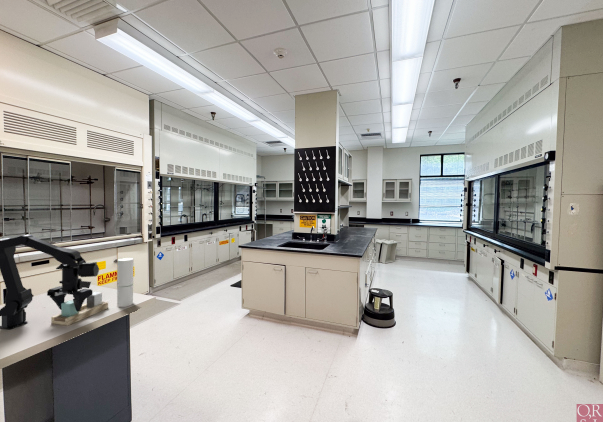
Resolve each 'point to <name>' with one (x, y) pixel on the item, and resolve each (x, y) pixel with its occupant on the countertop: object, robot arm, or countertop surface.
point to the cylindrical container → (125, 282)
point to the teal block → (68, 309)
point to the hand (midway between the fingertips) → (70, 310)
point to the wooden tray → (81, 315)
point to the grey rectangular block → (94, 299)
